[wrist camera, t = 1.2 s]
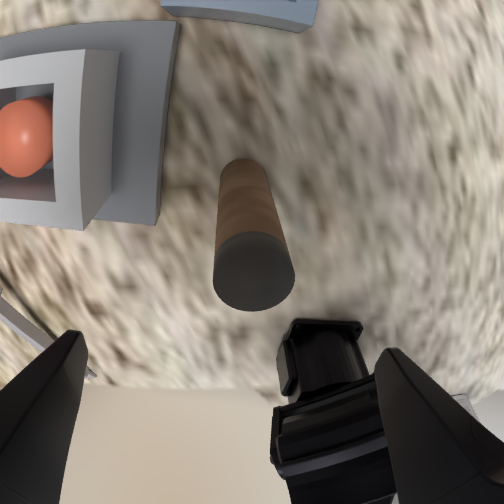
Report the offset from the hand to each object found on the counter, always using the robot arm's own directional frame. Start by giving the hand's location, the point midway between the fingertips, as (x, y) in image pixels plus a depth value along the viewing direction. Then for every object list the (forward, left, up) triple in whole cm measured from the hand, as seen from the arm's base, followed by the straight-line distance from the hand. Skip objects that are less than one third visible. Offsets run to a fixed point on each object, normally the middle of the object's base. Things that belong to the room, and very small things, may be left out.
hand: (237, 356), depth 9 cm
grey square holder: (+11, -3, -13) cm, 18 cm away
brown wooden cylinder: (-1, 0, -13) cm, 13 cm away
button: (+11, -3, -10) cm, 15 cm away
